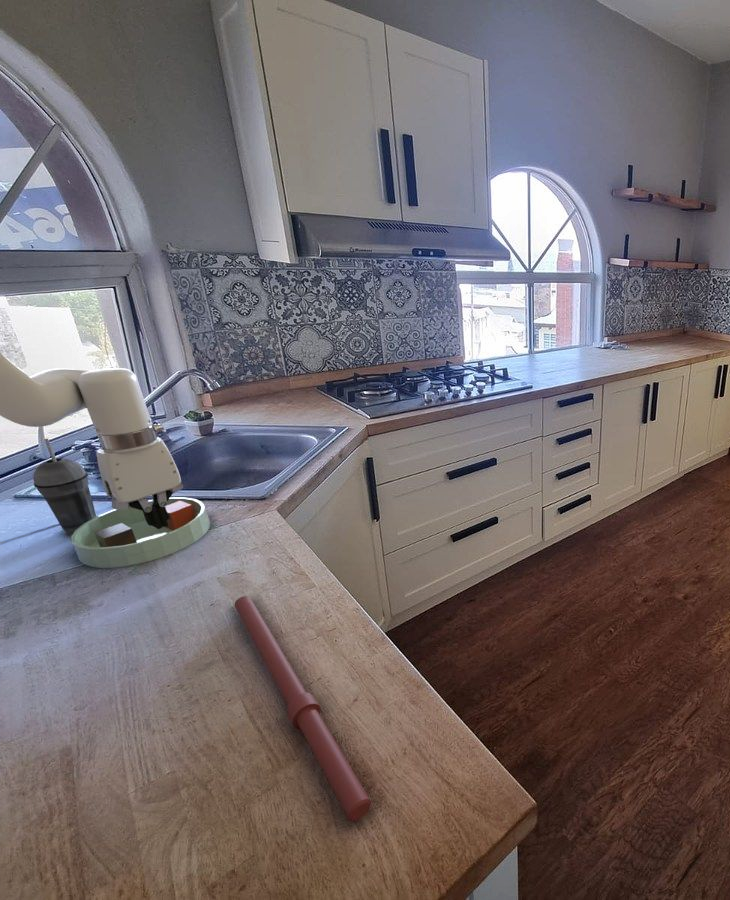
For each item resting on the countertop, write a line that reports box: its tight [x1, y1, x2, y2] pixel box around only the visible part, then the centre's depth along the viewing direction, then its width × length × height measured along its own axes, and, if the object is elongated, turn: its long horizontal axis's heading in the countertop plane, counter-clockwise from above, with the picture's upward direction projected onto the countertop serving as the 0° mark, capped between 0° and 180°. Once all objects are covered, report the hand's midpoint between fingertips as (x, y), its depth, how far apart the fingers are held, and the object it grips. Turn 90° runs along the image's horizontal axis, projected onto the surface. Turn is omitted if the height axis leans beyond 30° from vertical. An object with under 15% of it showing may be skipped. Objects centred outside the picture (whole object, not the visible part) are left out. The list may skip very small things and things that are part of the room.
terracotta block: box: [165, 501, 196, 530], centre depth 101 cm, size 4×4×4 cm
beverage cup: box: [32, 438, 97, 536], centre depth 96 cm, size 7×7×20 cm
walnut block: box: [95, 523, 137, 547], centre depth 92 cm, size 4×4×4 cm
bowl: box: [70, 496, 211, 569], centre depth 96 cm, size 19×19×4 cm
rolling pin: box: [234, 595, 372, 822], centre depth 65 cm, size 45×3×3 cm, turn 46°
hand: (159, 525), depth 97 cm, fingers closed
